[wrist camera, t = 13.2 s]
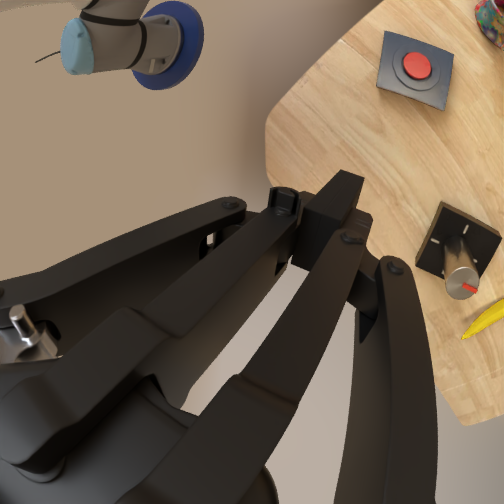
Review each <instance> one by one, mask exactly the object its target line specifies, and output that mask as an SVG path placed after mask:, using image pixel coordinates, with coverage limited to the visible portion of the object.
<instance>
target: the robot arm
mask: <svg viewBox="0 0 504 504" xmlns="http://www.w3.org/2000/svg"><path fill="white" fill-rule="evenodd" d="M63 2H71V3H72V5H73V6H74V8H75V9H78V10H82V12H81V14H80V16H79V18H74V19H72V20H70V21H69V22H68V23H67V25H66V26H65V28H64V30H63V34H62V38H61V51H58V52H55V53H52V54H50V55H48V56H46V57H44V58H42V59H40V60H38V61H41V60H43V59H45V58H47V57H49V56H52V55H54V54H57V53H60V52H61V59H62V63H63V66H64V68H65V70H66V71H67V72H68V73H70V74H72V75H80V74H91V73H96V72H103V71H111V70H120V69H131V70H134V71H137V72H140V73H143V74H147V75H157V74H162V73H164V72H166V71H168V70H169V69H170V68H171V67H172V66H173V65H174V64H175V63H176V61H177V60H178V58H179V56H180V54H181V51H182V48H183V44H184V30H183V27H182V24H181V23H180V21H179V20H178V19H177V18H175V17H174V16H170V15H164V14H159V15H154V16H150V17H145V18H142V19H140V17H141V15H142V13H143V11H144V9H145V7H146V6H147V4H148V2H149V0H0V12H2V11H7V10H11V9H16V8H22V7H28V6H34V5H42V4H51V3H63ZM38 61H36V62H35V63H37V62H38ZM363 182H364V177H361V176H358V175H356V174H353V173H350V172H347V171H344V170H340V171H339V172H338V173H337V174H336V175H335V176H334V177H333V178H332V179H331V180H330V181H329V182H328V183H327V184H326V185H325V186H324V187H323V188H322V189H321V190H320V191H319V192H318V193H317V194H316V195H315V194H312V193H309V192H306V191H302V192H298V191H297V190H294V189H292V188H288V187H273V188H270V194H269V201H268V207H267V208H266V209H264V210H263V211H262V212H261V213H256V212H251V211H246V208H247V204H246V202H245V201H243V200H242V199H239V198H237V197H232V196H230V197H222V198H218V199H215V200H212V201H210V202H207V203H204V204H201V205H198V206H195V207H193V208H190V209H187V210H185V211H182V212H179V213H176V214H174V215H171V216H169V217H166V218H163V219H160V220H158V221H155V222H153V223H151V224H148V225H145V226H142V227H140V228H138V229H135V230H133V231H130V232H128V233H125V234H123V235H120V236H118V237H116V238H113V239H111V240H109V241H106V242H104V243H102V244H99V245H97V246H95V247H93V248H90V249H88V250H86V251H84V252H81V253H79V254H77V255H75V256H72V257H70V258H68V259H66V260H64V261H62V262H60V263H57V264H56V265H53V266H51V267H49V268H47V269H45V270H43V271H40V272H36V273H32V274H28V275H23V276H19V277H15V278H11V279H7V280H3V281H0V504H279V500H278V494H277V489H276V486H275V483H274V480H273V478H272V476H271V474H270V472H269V471H268V469H267V468H266V466H265V463H266V462H267V460H268V459H269V457H270V455H271V454H272V452H273V451H274V449H275V447H276V446H277V444H278V442H279V441H280V439H281V437H282V436H283V434H284V432H285V431H286V429H287V427H288V425H289V424H290V422H291V420H292V418H293V416H294V414H295V412H296V410H297V408H298V404H299V402H300V400H301V398H302V396H303V395H304V393H305V391H306V389H307V387H308V385H309V383H310V381H311V379H312V377H313V375H314V373H315V371H316V369H317V367H318V365H319V362H320V360H321V358H322V356H323V354H324V352H325V350H326V347H327V345H328V343H329V341H330V338H331V336H332V333H333V332H334V329H335V327H336V324H337V322H338V320H339V317H340V315H341V312H342V310H343V307H344V305H345V302H346V301H347V302H349V303H350V304H351V305H353V306H354V307H355V308H357V309H356V312H355V334H354V358H353V374H352V386H351V397H350V407H349V416H348V424H347V431H346V438H345V444H344V451H343V457H342V463H341V468H340V473H339V478H338V483H337V487H336V492H335V498H334V504H436V502H435V490H436V477H437V459H438V458H437V457H438V427H437V408H436V394H435V384H434V375H433V368H432V361H431V354H430V348H429V342H428V337H427V331H426V326H425V322H424V317H423V312H422V308H421V304H420V300H419V296H418V292H417V288H416V284H415V280H414V277H413V273H412V271H411V269H410V267H409V266H408V265H407V264H406V263H405V262H404V261H403V260H402V259H400V258H397V257H394V256H383V257H382V258H381V259H380V260H378V259H377V258H376V257H374V256H373V255H372V254H371V253H370V252H369V251H368V249H367V247H366V242H367V239H368V235H369V232H370V229H371V226H372V222H373V218H372V216H371V214H369V213H366V212H364V211H361V210H358V209H356V206H357V203H358V199H359V196H360V192H361V189H362V186H363ZM212 233H213V243H211V244H208V245H207V236H208V235H210V234H212ZM292 255H293V256H292ZM291 256H292V260H291V264H293V265H295V266H297V267H300V268H302V269H304V270H307V271H309V274H308V276H307V277H306V278H305V280H304V282H303V283H302V285H301V286H300V288H299V289H298V291H297V292H296V294H295V295H294V297H293V299H292V300H291V302H290V303H289V305H288V306H287V308H286V309H285V311H284V312H283V314H282V315H281V317H280V318H279V320H278V321H277V323H276V324H275V325H274V327H273V328H272V330H271V331H270V333H269V334H268V336H267V337H266V338H265V340H264V341H263V343H262V344H261V346H260V347H259V348H258V350H257V351H256V353H255V354H254V355H253V357H252V358H251V360H250V361H249V362H248V364H247V365H246V367H245V368H244V369H243V370H242V372H240V373H239V374H236V375H233V376H232V377H231V378H229V379H228V380H227V382H226V383H225V384H224V385H223V386H222V387H221V389H220V390H219V391H218V393H217V394H216V395H215V396H214V398H213V399H212V400H211V402H210V403H209V404H208V405H207V407H206V408H205V409H204V410H203V411H202V413H201V414H200V415H199V416H196V415H194V414H191V413H188V412H185V411H183V410H180V408H181V407H182V406H183V404H184V402H185V401H186V398H187V396H188V393H189V391H190V389H191V387H192V386H193V385H194V384H195V382H196V381H197V380H198V379H199V377H200V376H201V375H202V374H203V373H204V371H205V370H206V369H207V368H208V367H209V366H210V365H211V363H212V362H213V361H214V360H215V358H216V357H217V356H218V355H219V354H220V352H221V351H222V350H223V349H224V347H225V346H226V345H227V344H228V343H229V341H230V340H231V339H232V338H233V336H234V335H235V334H236V333H237V332H238V330H239V329H240V328H241V327H242V325H243V324H244V323H245V322H246V320H247V319H248V318H249V316H250V315H251V314H252V313H253V311H254V310H255V309H256V308H257V306H258V305H259V304H260V302H261V301H262V300H263V299H264V297H265V296H266V295H267V293H268V292H269V291H270V290H271V288H272V287H273V286H274V284H275V283H276V282H277V281H278V279H279V278H280V277H281V275H282V274H283V273H284V271H285V270H286V268H287V264H288V260H289V258H290V257H291ZM61 355H63V356H62V357H60V358H58V356H61Z"/></svg>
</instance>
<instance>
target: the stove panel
mask: <svg viewBox="0 0 504 504" xmlns="http://www.w3.org/2000/svg"><path fill="white" fill-rule="evenodd" d="M452 236H460V237H462V238H464V239H465V240H466V241H467V243H468V245H469V248H470V251H471V254H472V256H473V260H474V263H475V266H476V269H477V272H478V276H479V279H480V277H481V276H482V274H483V273H484V271H485V269H486V267H487V266H488V264H489V262H490V261H491V259H492V257H493V255H494V253H495V252H496V250H497V248H498V246H499V244H500V242H501V240H502V237H501V235H500V233H499V232H498V231H497V230H495V229H493V228H492V227H490V226H488V225H486V224H485V223H483V222H481V221H479V220H477V219H475V218H474V217H472V216H470V215H468V214H466V213H464V212H462V211H460V210H458V209H456V208H454V207H452V206H450V205H448V204H446V203H444V202H442V201H441V203H440V205H439V208H438V210H437V212H436V215H435V217H434V220H433V222H432V224H431V226H430V229H429V231H428V233H427V235H426V238H425V240H424V242H423V244H422V246H421V248H420V250H419V252H418V254H417V256H416V258H415V266H416V267H418V268H420V269H423V270H425V271H427V272H429V273H431V274H434V275H436V276H438V277H440V278H442V279H444V280H445V277H444V269H443V262H442V256H441V248H442V245H443V243H444V242H445V241H446V240H447V239H448V238H450V237H452Z"/></svg>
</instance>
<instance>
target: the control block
mask: <svg viewBox="0 0 504 504" xmlns="http://www.w3.org/2000/svg"><path fill="white" fill-rule="evenodd" d="M411 52H418V53H420V54H422V55H424V56H425V57H426V58H427V59H428V60H429V62H430V65H431V72H430V74H429V75H428V76H427V77H426V78H425V79H422V80H417V79H414V78H412V77H410V76H409V75H408V74H407V73H406V71H405V69H404V58H405V56H406V55H407V54H409V53H411ZM453 58H454V54H452V53H450V52H447V51H445V50H443V49H440V48H438V47H435V46H432V45H430V44H427V43H424V42H421V41H418V40H416V39H412V38H409V37H406V36H403V35H400V34H396V33H393V32H389V31H385V32H384V40H383V47H382V54H381V61H380V67H379V73H378V79H377V84H376V86H377V87H378V88H381V89H385V90H388V91H391V92H394V93H397V94H400V95H403V96H406V97H408V98H411V99H414V100H416V101H419V102H422V103H424V104H427V105H429V106H431V107H434V108H436V109H438V110H441V111H444V110H445V105H446V100H447V95H448V90H449V85H450V79H451V72H452V65H453Z"/></svg>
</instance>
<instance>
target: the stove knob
mask: <svg viewBox="0 0 504 504" xmlns="http://www.w3.org/2000/svg"><path fill="white" fill-rule="evenodd" d="M441 256H442V262H443V269H444V277H445V285H446V291H447V293H448V294H449V295H450V296H451V297H452V298H454V299H457V300H463V299H467V298H469V297H471V296H472V295H473V294H474V293H475V294H476V292H477V291H478V290H477V289H478V286H479V276H478V272H477V269H476V266H475V263H474V260H473V256H472V254H471V251H470V248H469V245H468V243H467V241H466V240H465V239H464V238H462V237H460V236H452V237H450V238H448V239H447V240H446V241H445V242H444V243H443V245H442V248H441Z"/></svg>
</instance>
